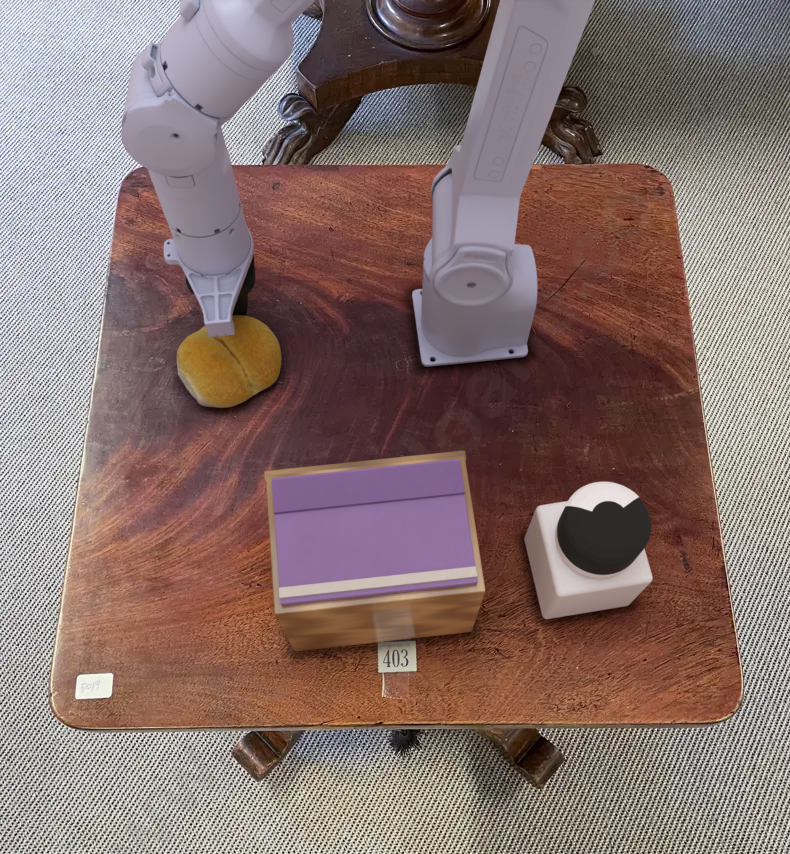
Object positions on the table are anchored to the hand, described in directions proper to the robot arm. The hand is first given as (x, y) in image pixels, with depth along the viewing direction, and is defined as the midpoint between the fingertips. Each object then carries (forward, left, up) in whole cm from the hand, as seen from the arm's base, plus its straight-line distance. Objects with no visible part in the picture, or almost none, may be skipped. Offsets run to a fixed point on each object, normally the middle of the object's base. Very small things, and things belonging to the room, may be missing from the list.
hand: (234, 312), depth 77 cm
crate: (-10, +26, -1) cm, 28 cm away
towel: (-10, +26, +10) cm, 29 cm away
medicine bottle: (-26, +27, -2) cm, 37 cm away
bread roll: (+1, +5, -2) cm, 5 cm away
